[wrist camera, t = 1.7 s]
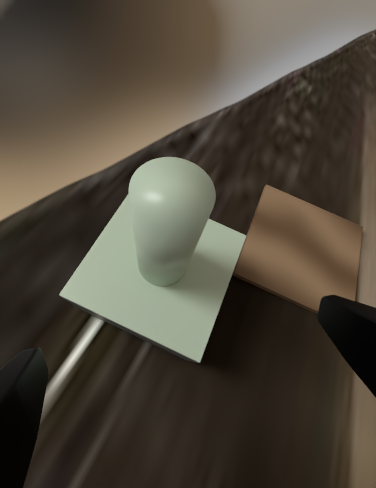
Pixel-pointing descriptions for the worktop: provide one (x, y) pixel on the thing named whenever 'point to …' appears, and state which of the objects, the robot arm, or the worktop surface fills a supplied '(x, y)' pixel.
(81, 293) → the lid
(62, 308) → the worktop surface
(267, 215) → the walnut board
